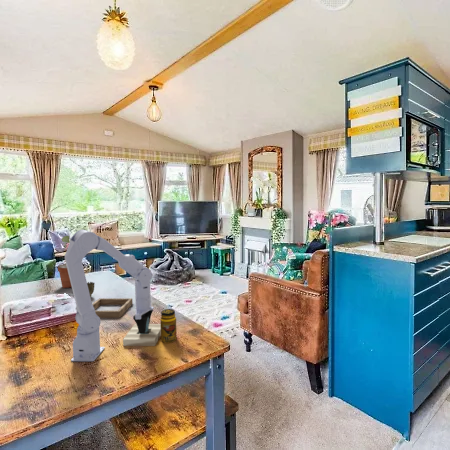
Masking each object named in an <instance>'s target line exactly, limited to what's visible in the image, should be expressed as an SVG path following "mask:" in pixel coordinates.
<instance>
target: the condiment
mask: <svg viewBox="0 0 450 450" xmlns="http://www.w3.org/2000/svg"><path fill="white" fill-rule="evenodd" d="M160 314H161V315H160V321H159V323H160V324H161V335H160V340H161V342H162V343H165V344H169V343H173V342H176V340H177V335H178V334H177V332H178V331H177V317H176V310H174V309H172V308H166V309H163V310H162V311H160Z"/></svg>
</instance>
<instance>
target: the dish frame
mask: <svg viewBox="0 0 450 450" xmlns="http://www.w3.org/2000/svg"><path fill="white" fill-rule="evenodd" d="M133 303H134V302H133V298H132V297H131V298H129V297H128V298H126V297H124V298H123V297H122V298H110V297H108V298H107V297H106V298H105V297H104V298H101V297H100V298H98V299H97V300H95V301H94V302H92V305H93V307H94V309H95V313H96V315H97V316H98V317H99V318H100V319H103V318H104V319H106V318H107V319H119V318H120V319H121V317H122V316H123V315H124V314H125V313H126V311H128V310H129V308H131V306H132V305H133ZM102 305H103V306H116V305H117V306H121V307H120V308H119V309H117V310H97V309H98V308H99V307H100V306H102Z"/></svg>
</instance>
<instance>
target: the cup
mask: <svg viewBox="0 0 450 450" xmlns="http://www.w3.org/2000/svg"><path fill="white" fill-rule="evenodd" d="M87 285H88V289H89V294H90V298H92V294H94V292H95V285H96V284H95V282H93V281H87Z"/></svg>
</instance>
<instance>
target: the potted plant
mask: <svg viewBox="0 0 450 450" xmlns="http://www.w3.org/2000/svg"><path fill="white" fill-rule="evenodd" d="M61 241H62V242H63V243H66V244H64V246H65V247H66V248H68V246H69V243H70V235H65V236H62V237H61ZM67 243H68V245H67ZM57 272H59V277H60V278H59V279H60V282H61V286H62V287H61V288H63V289H66V288H67V289H69V288H72V286H71V282H70V278H69V274H68V270H67V266H66V262H65V263H63V264H59V265H57Z"/></svg>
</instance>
